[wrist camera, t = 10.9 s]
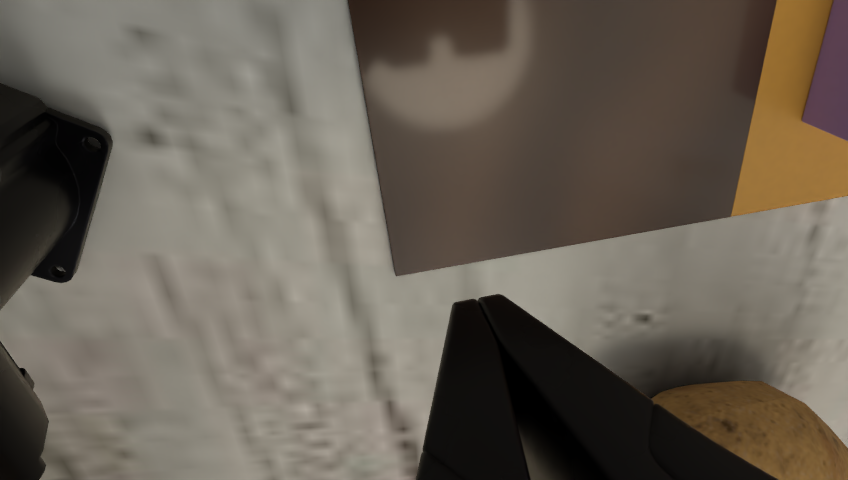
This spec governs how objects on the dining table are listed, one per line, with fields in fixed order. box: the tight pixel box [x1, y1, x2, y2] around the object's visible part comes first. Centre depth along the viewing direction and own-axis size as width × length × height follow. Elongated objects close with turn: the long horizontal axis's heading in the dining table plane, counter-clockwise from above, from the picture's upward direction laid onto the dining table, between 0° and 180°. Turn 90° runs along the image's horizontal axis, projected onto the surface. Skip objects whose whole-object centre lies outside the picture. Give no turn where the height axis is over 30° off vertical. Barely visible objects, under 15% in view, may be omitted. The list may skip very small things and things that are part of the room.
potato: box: [651, 381, 848, 480], centre depth 27 cm, size 10×14×8 cm
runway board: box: [348, 0, 777, 276], centre depth 20 cm, size 15×14×1 cm
